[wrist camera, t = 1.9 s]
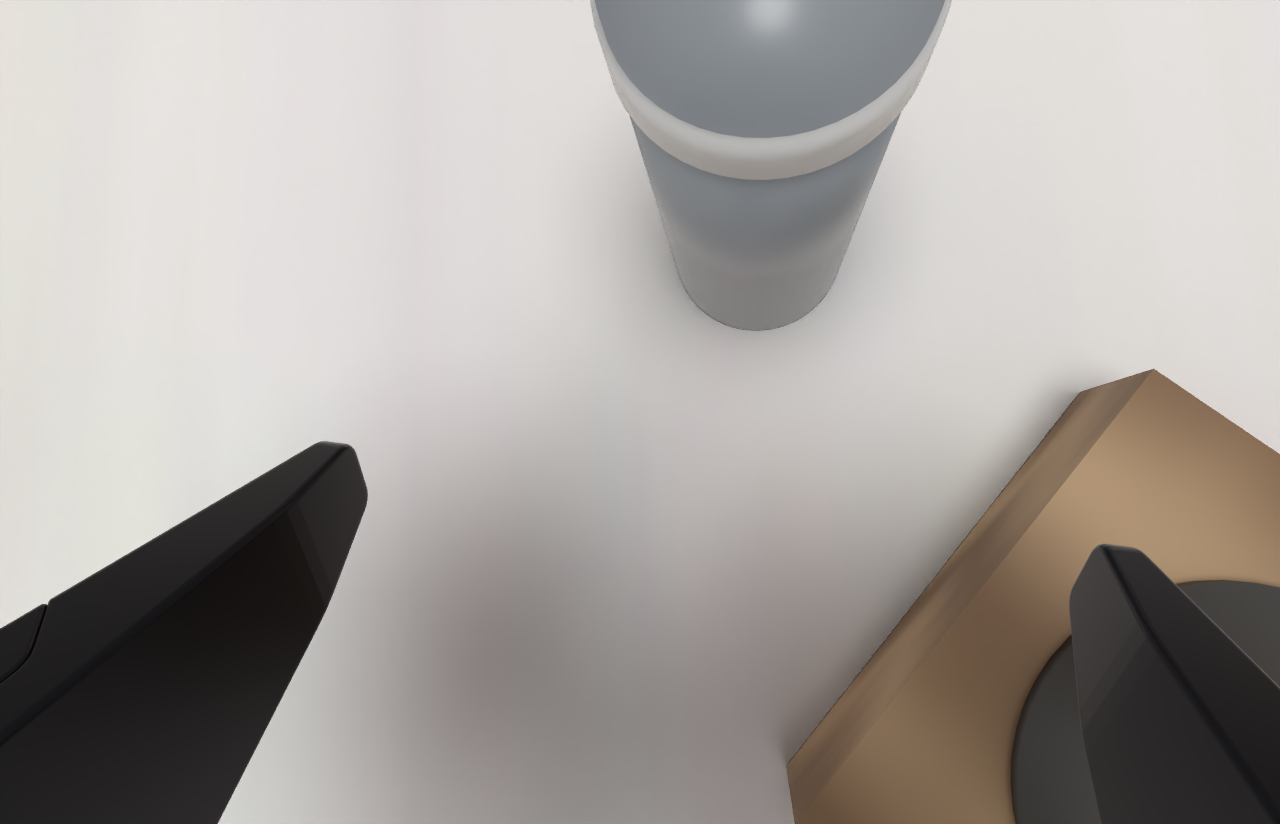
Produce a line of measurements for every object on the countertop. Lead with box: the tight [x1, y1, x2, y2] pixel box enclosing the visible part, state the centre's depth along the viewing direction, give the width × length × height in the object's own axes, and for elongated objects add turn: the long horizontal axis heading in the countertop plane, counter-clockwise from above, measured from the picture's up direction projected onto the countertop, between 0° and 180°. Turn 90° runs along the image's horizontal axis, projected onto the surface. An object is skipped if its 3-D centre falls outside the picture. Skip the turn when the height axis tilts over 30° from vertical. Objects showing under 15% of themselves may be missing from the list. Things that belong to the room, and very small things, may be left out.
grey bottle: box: [591, 0, 952, 330], centre depth 17 cm, size 5×5×13 cm
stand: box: [787, 369, 1280, 824], centre depth 18 cm, size 13×13×4 cm
